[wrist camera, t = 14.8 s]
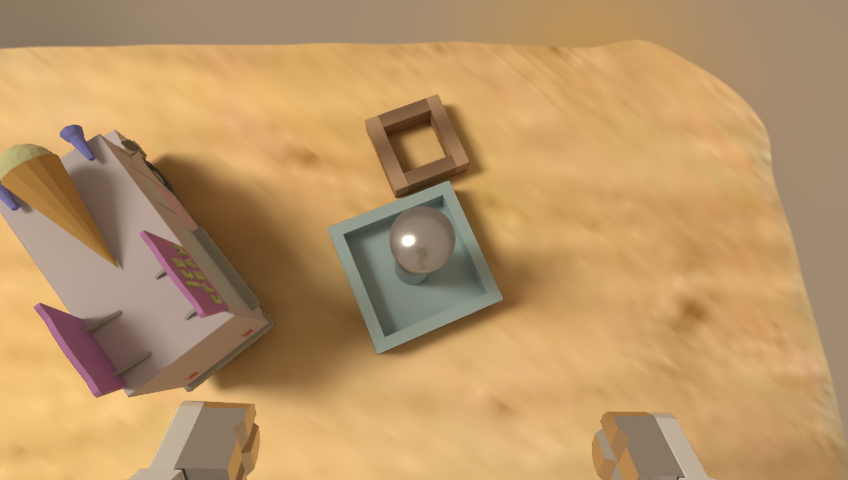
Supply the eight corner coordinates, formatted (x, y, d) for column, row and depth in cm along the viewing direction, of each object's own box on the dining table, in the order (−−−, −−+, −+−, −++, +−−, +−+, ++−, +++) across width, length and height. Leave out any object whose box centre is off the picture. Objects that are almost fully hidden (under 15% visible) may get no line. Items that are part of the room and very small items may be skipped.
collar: (466, 170, 44) (469, 162, 42) (395, 197, 43) (395, 190, 41) (435, 105, 45) (437, 94, 43) (366, 130, 44) (365, 120, 42)
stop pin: (445, 280, 41) (466, 255, 30) (399, 298, 41) (404, 280, 30) (426, 235, 42) (440, 196, 31) (381, 253, 41) (379, 219, 31)
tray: (497, 302, 42) (503, 299, 39) (378, 353, 40) (377, 354, 38) (445, 189, 44) (449, 180, 41) (330, 234, 42) (327, 227, 40)
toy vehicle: (156, 148, 43) (34, 44, 28) (289, 320, 40) (231, 305, 26) (61, 210, 41) (-122, 134, 26) (193, 395, 38) (73, 424, 24)
